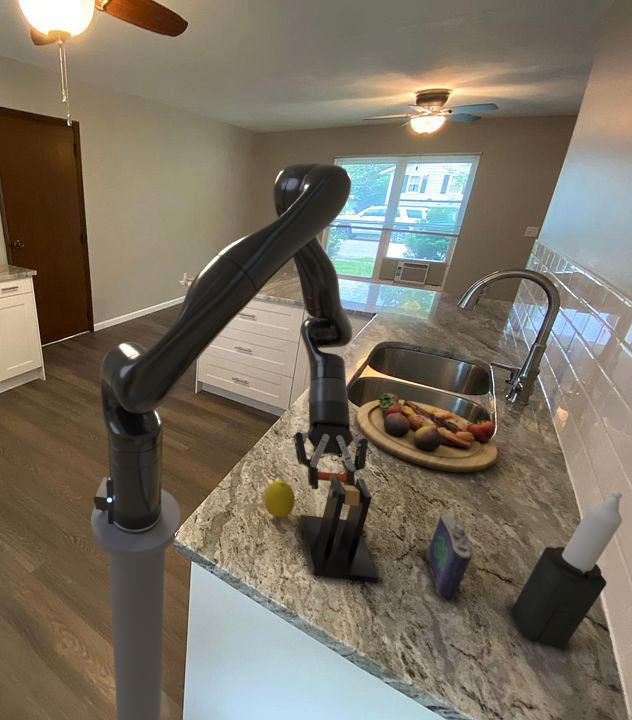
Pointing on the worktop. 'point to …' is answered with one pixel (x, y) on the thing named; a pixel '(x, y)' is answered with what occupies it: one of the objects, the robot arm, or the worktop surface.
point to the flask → (448, 556)
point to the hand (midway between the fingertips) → (331, 490)
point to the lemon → (279, 499)
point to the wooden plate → (427, 435)
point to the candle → (567, 579)
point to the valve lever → (349, 491)
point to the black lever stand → (340, 537)
